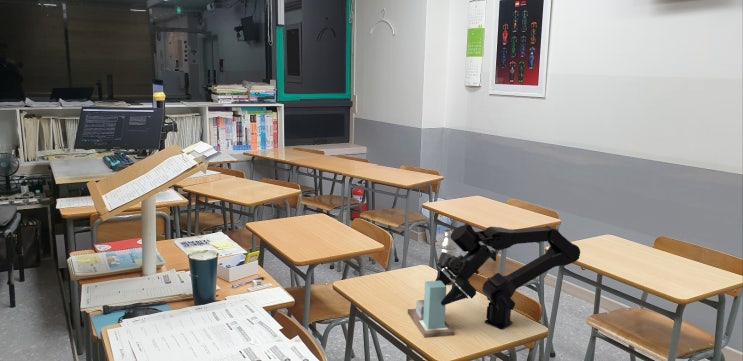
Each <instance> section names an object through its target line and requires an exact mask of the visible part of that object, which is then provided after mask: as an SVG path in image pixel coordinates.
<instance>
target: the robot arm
mask: <svg viewBox="0 0 743 361" xmlns="http://www.w3.org/2000/svg"><path fill="white" fill-rule="evenodd" d="M451 239H452V240H453V241H454V242H455V243H456V244H457V247H458V248H459V249H461V251H462V252H464V253H465V254H464V255H462V254H460V255H458V256H457V257H456V255H455V256H452V255H450V254H447V253H445V252H442V254H441V256H440V255H439V257H438V260H437V262H438V263H437V264H436V266H437V267H436V269H437V273H438V276H437V275H436V278H435V280H434V281H442V282H443V284H444V285H445V286H446V287H447V286H448V285H449V284H451V288H450V290H449V292H448V293H446V296H445V298H444V299H443V300H442V302H441V304H442V305H443V306H444V305H445V306H446V305H448V304H452V303H454V302H457V301H461V300H465V299H469V298H470V299H473V298H474V297H475V296H476V295H477V289H476V288H475V287H474V286H473V285H472V284H471V283H470V281H469V280H470V279H471V278H472V277H473V275H474V274H475V275H479V274H480V271H479V270H480V268H482V266H483V265H484V264H485V263H486V262H487V261H488V260H489V259H491V260H493V261H494V262H496V261H497V252H496V251H501V250H505V249H509V248H511V247H512V246H514V245H519V244H528V243H529V244H530V243H531V244H533V243H541V242H547V243H548V244H549V247H548V249H546V252H545V253H544V254H542V255H540V256H539V257H536V259H534V260H532V261H530V262H528V263H527V264H525V265H523V266H521V267H520V268H518V269H516V270H514V271H513V272H510V273H509V274H507V275H502V273H500V272H497V273H495V274H494V275H492V276H490V277H487V278H486V281H485V282H483V286H482V289H481V290H482V293H483V295H484V296H485V297H486V299H487V301H489V302H488V306H487V307H486V316H485V317H486V319H485V320H484V323H485V324H487V325H490V326H493V327H495V328H496V329H497V328H498V329H500V330H504V329H505V328H507V327H509V326H511V325H512V324H513V321H512V320H511V315H512V310H514V309H515V308H514V307H515V306H516V302H514V300H513V299H512V296H513V295H514V294H515V293H516V291H517V289H519V288H520V287H522V286H524V285H526V284H527V283H529V282H530V281H533V280H534V279H536V278H538V277H539V276H541V275H543V274H545V273H547V272H548V271H550V270H552V269H553V268H555V267H562V266H564V267H565V266H568V265H570V264H573V263H575V262H577V261H578V260H579V259H580V255H581V249H580V247H579V246H578V245H576V243H573V242H571V241H569V240H568V239H567V238H566V237H565V236H564V235H562V234H561V233H560V231H559V230H558V229H556V228H554V227H552V226H550V225H546V226H541V227H529V228H528V227H526V228H515V229H514V228H513V229H511V228H505V227H499V226H488V227H486V228H485V229H484V230H478V231H475V230H474V228H473V227H472V225H470V224H469V223H468V222H465V223H464V224H463V225H460V226H458V227H456V228H455V229H454V230H453V232H452V234H451ZM481 243H482V244H481ZM489 247H491V248H492V249H490V248H489ZM439 267H440V268H439ZM449 277H450V278H451V279H454V281H453V282H452V281H451V280H450V279H449ZM451 282H452V283H451Z"/></svg>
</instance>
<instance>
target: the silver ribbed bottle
mask: <svg viewBox="0 0 743 361" xmlns="http://www.w3.org/2000/svg"><path fill="white" fill-rule="evenodd" d="M453 231H454V230H453V229H444V230H443V234H442V236H443V237H442V239H440V241H439V244H438V250H439V257H440V256H441V254H442V252H445V253H447V254H450V255H452V256H455V257H456V252H457V247H458V245H457V244H456V243H455V242H454V241H453V240H452V239H451V234H452V232H453ZM438 268H440V267H439V266H438ZM437 276H438V272H437V273H436V277H437ZM449 279H450V280H451V281H452V282H453V283H454V282H455V280H454V279H451V278H450V277H449ZM452 282H451V283H450V284H452Z"/></svg>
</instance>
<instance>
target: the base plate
mask: <svg viewBox="0 0 743 361" xmlns="http://www.w3.org/2000/svg"><path fill="white" fill-rule="evenodd" d="M415 305H416V308H408V309H407V314H408V316H409V317H410V319H411V320H412V322H413V323H414V325H415V326H416V328H417V329H418V330H419V332H420V334H421V335H422V337H423V338H434V337H445V336H454V330H453V329H452V328H451V327H450V325H449V324H448V323H447V321H445V322H444V328H436V329H428V328H427V326H426V325H425V324H424V322H423V316H424V299H419V300H416V304H415Z"/></svg>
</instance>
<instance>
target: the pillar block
mask: <svg viewBox="0 0 743 361" xmlns="http://www.w3.org/2000/svg"><path fill="white" fill-rule="evenodd" d="M424 282H425V283H424V294H423V295H424V298H423V300H424V316H423V322H424V324H425V325H426V326H427V328H428V329H436V328H444V322H446V320H445V319H446V305H444V306H443V305H442V304H441V302H442V300H443V299H444V298H445V296H446V295H447V285H446V286H445V285H444V284H443V282H442V281H435V280H429V281H427V280H425V281H424Z"/></svg>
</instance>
